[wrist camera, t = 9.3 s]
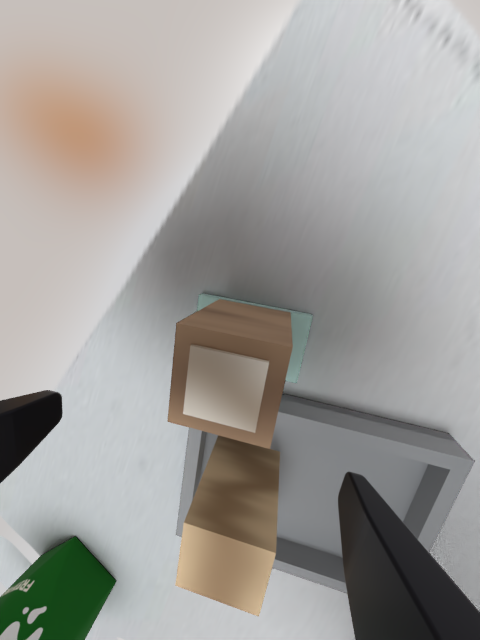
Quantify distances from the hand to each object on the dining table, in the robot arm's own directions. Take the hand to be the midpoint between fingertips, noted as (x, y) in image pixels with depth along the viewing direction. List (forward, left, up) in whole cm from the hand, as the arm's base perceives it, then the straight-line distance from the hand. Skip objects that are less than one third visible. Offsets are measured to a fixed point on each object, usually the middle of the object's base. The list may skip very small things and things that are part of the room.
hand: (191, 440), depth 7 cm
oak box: (-2, +11, -11) cm, 16 cm away
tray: (-6, +11, -11) cm, 17 cm away
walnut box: (0, 0, -11) cm, 11 cm away
